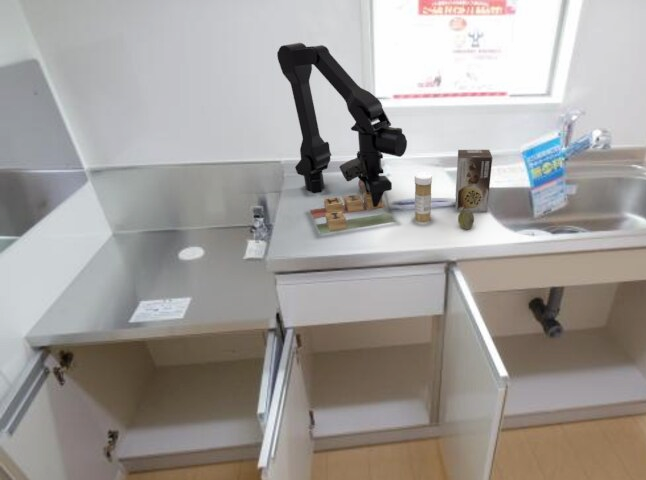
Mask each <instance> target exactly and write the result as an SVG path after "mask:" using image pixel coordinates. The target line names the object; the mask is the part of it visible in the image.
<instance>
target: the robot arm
mask: <svg viewBox="0 0 646 480" xmlns="http://www.w3.org/2000/svg"><path fill="white" fill-rule="evenodd" d="M276 55H277V61H278V64H279V66H280V67H279V68H280V70H281V73H282V74H283V76H284V77H285V78H286V80H287V81H288V82H289V84H290V87H291V93H292V97H293V100H294V105H295V110H296V115H297V118H298V124H299V128H300V132H301V136H302V139H301V144H300V147H299V153H300V160H299V162H298V163H297V164H296V165H295V167H294V169H295V171H296V174H297V175H300V176H303V180H304V185H303V188H305V190H306V191H307V192H310V193H312V194H318V193H319V194H320V193H322V192H323V191H324V189H325V182H324V181H325V180H324V173H323V171H324V170H327V169H328V168H329V163H330V162H331V157H332V153H331V150H330V142H328V141H324V139H323V138H322V137H321V135H320V130H319V125H318V120H317V114H316V108H315V105H314V100H313V93H312V90H311V84H310V79H311V75H312V71H313V66H314V67H315V68H316V69H317V70H318V72H320V74H321V75H322V76H323V77H324V78H325V79H326V81H328V83H329V84H330V86H332V87H333V88H334V90H335V91H336V92H337V93H338V94H339V96H341V98H343V100H344V102H345V105H346V108H347V111H348V113H349V114H350V115H351V117H352V119H353V120H354V122H355V123H354V124H353V125H352V126H351V127H350V130H351V131H353V132H357V136H358V137H357V139H358V149H359V150H358V151H357V152H356V157H355V158H353V159H350V160H348V161H346V162H344V163H342V164H340V165H339V170H340V172H341V174H342V176H343V178H344V179H345V181H346V182H351V181H353V180H354V179H357V178H358V179H359V180H361V181H362V182H363V183H364V186H365V189H366V193H367V192H370V194H371V198H372V203H373V206H374V207H377V206H378V204H379V202H380V199H381V197H382V198H383V195H384V193H385V192H389V191H392V190H393V183H392V182H391V180H390V179H389V178H388V177H387V176H386V175H384V169H383V167H382V159H384V154H386V155H389V156H394V157H399V158H400V157H403V155H405V154H406V151H407V146H408V140H407V137H406V135H405V134H404V133H403V128H402V127H392V123H391V121H390V119H389V117H388V115H387V114H386V112H385V110H384V108H383V103H382V101H380V99H379V98H377V97H376V96H375V95H374V94H372V93H371V92H370V91H368V90H366V89H364V88H362V87H360V86H359V84H357V82H356V81H355V80H354V79H353V78H352V77H351V76H350V74H348V72H347V71H346V70H345V69H344V68H343V66H342V65H341V64H340V62H338V61H337V60H336V58H334V56H333V55H332V54H331V53H330V50H329V48H328V47H327V46H325V45H322V44H320V45H312V46H311V45H310V46H306V45H305V44H304V43H303V42H296V43H295V42H294V43H290V44H284V45H281V46H280V47H279V48H278V51H277V52H276ZM374 122H375V123H374ZM380 174H383V175H380Z"/></svg>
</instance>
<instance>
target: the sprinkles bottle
mask: <svg viewBox="0 0 646 480" xmlns="http://www.w3.org/2000/svg"><path fill="white" fill-rule="evenodd" d="M432 182H433V175H432V174H431V173H429V172H426V171H425V172H424V171H422V172H421V171H420V172H418V173H415V175H414V185H415V186H414V220H415V222H418V223H429V222H430V221H431V211H432Z"/></svg>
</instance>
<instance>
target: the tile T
mask: <svg viewBox="0 0 646 480" xmlns="http://www.w3.org/2000/svg"><path fill="white" fill-rule="evenodd" d="M362 200H363V202H364V204H365V205H366V207H367V208H368V209H370V208H377V207H383V205H384V202H383V201H384V199H383V196H382V197H381V199H380V202H379V204H378V206H377V207H374V206H373V203H372V198H371V194H370V192H367V193H364V192H362Z"/></svg>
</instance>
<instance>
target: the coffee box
mask: <svg viewBox="0 0 646 480" xmlns="http://www.w3.org/2000/svg"><path fill="white" fill-rule="evenodd" d="M492 165H493V156H492V152H491V151H490V149H458V150H457V163H456V181H455V182H456V184H455V197H456V202H455V201H454V205H455V211H456V213H461V212H462V211H463V210H466V209H468V210H470V211H472V213H474V212H475V213H476V212H477V213H479V212H480V213H481V212H483V213H485V212H488V204H489V195H490V187H491V177H492V175H491V174H492V167H493V166H492Z"/></svg>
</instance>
